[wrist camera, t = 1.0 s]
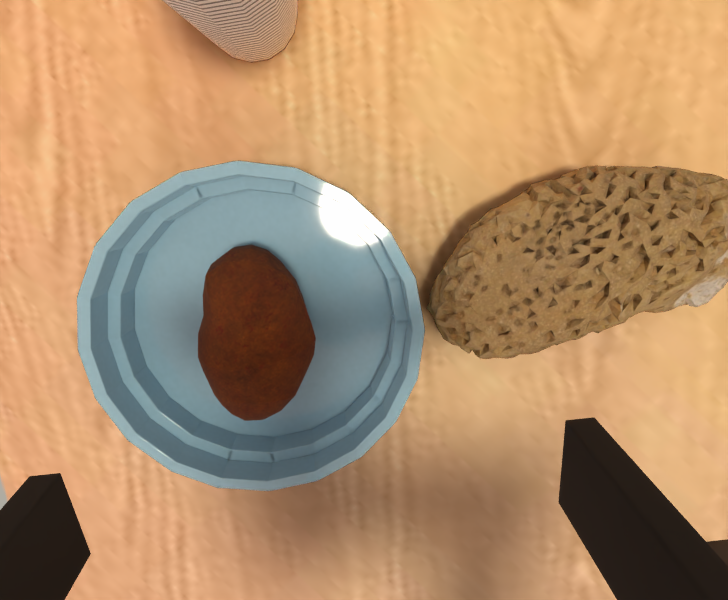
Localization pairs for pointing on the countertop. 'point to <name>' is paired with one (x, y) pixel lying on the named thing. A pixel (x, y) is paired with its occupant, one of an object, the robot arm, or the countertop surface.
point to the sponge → (583, 258)
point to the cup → (242, 24)
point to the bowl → (185, 313)
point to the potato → (254, 333)
